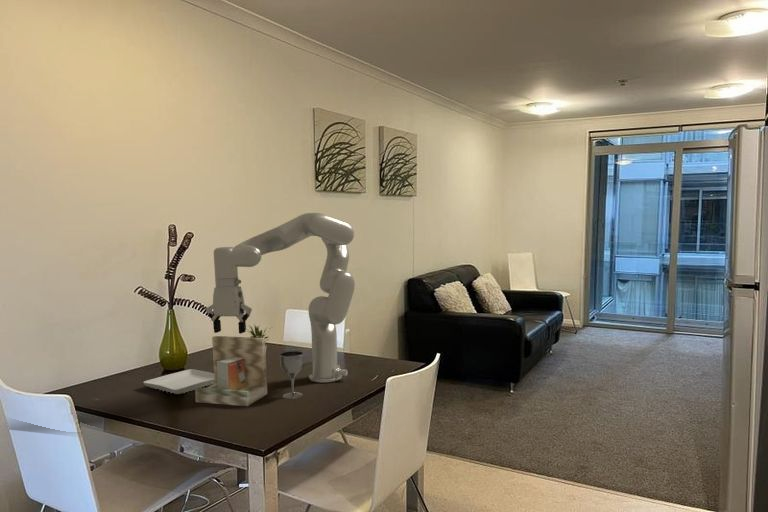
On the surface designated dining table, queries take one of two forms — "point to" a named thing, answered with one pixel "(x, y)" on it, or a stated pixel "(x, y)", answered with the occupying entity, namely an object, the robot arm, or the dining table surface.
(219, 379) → the small box
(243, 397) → the wavy patterned display stand
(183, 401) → the dining table surface
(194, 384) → the salad plate
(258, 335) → the house plant
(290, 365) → the wine glass
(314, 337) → the robot arm
